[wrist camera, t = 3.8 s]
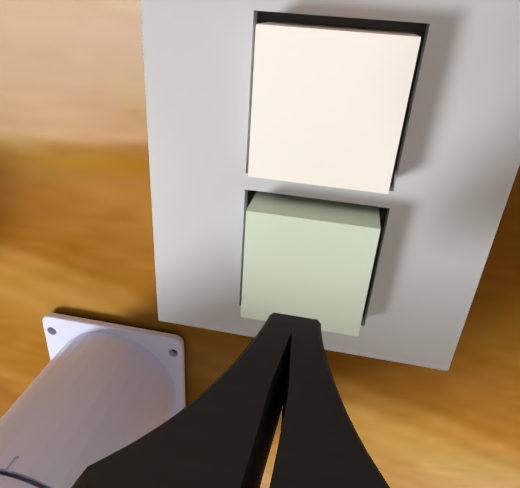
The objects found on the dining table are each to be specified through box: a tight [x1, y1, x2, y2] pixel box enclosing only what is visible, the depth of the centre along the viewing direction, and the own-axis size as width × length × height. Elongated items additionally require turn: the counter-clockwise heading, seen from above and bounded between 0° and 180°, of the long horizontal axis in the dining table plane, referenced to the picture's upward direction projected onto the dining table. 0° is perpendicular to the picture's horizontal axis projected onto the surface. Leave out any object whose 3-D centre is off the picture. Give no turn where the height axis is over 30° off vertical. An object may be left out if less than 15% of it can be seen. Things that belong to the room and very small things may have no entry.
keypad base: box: [140, 0, 520, 371], centre depth 16 cm, size 19×12×3 cm, turn 177°
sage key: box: [241, 191, 381, 337], centre depth 17 cm, size 4×4×2 cm
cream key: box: [248, 21, 421, 194], centre depth 14 cm, size 4×4×2 cm
